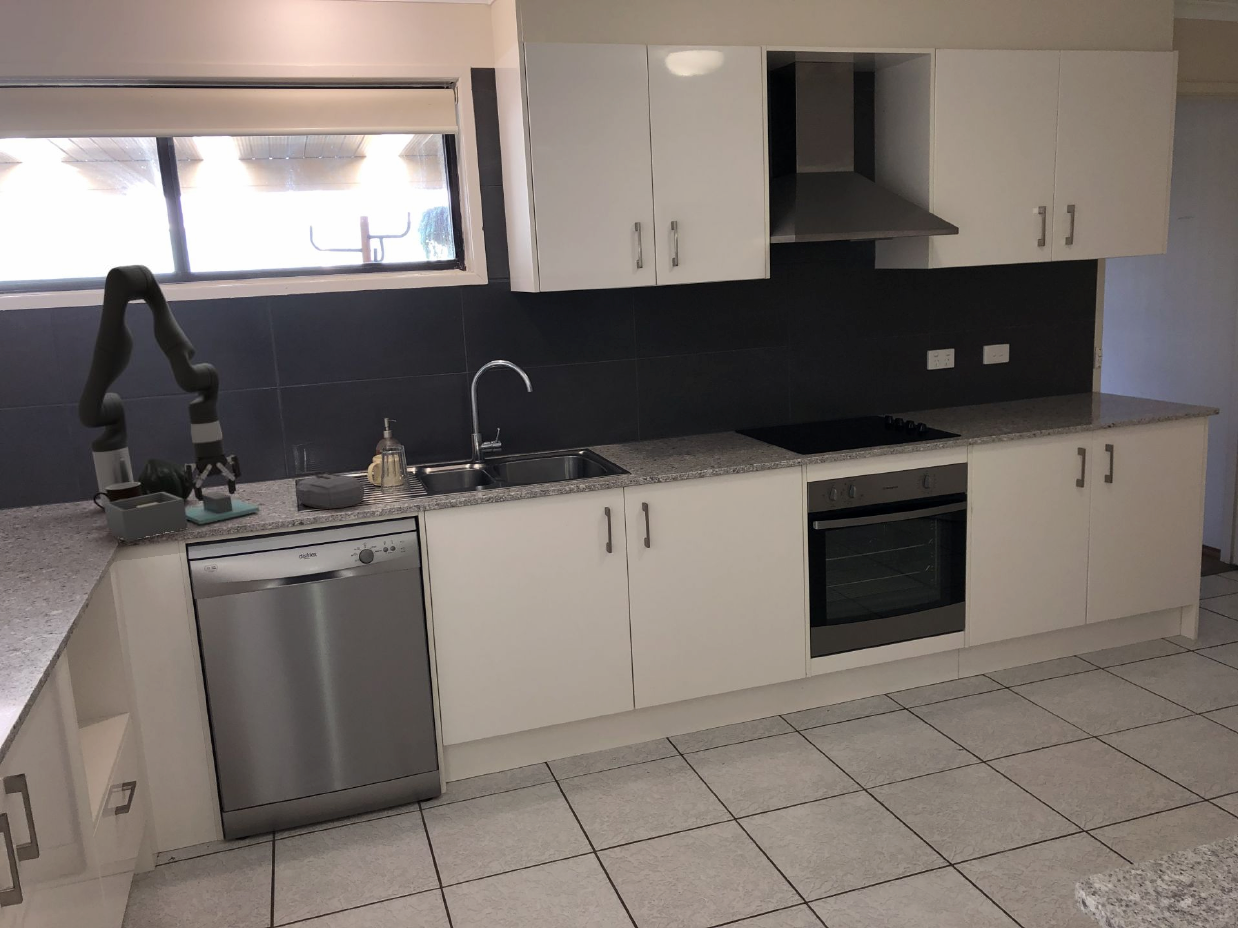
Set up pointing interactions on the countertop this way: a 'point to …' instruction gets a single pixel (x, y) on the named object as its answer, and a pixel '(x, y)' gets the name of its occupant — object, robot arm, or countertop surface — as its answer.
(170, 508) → the storage box
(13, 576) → the countertop surface
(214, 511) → the lid
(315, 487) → the soft grey pack
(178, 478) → the squash
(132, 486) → the coffee mug
